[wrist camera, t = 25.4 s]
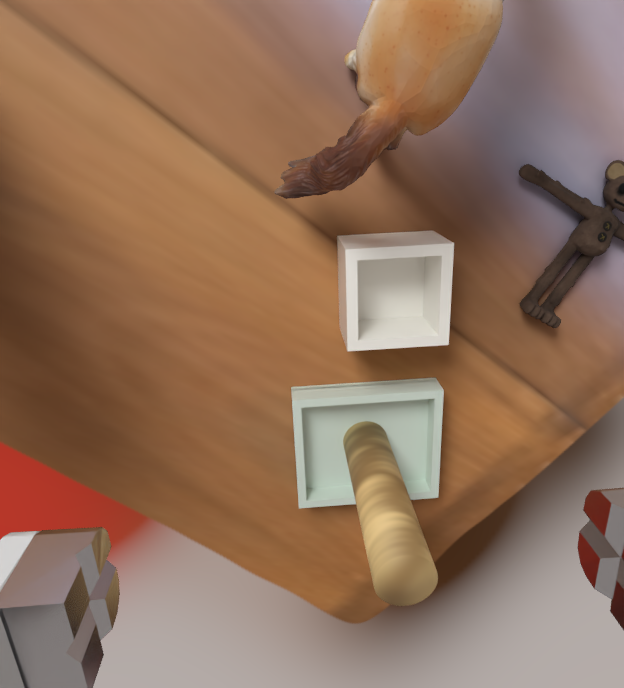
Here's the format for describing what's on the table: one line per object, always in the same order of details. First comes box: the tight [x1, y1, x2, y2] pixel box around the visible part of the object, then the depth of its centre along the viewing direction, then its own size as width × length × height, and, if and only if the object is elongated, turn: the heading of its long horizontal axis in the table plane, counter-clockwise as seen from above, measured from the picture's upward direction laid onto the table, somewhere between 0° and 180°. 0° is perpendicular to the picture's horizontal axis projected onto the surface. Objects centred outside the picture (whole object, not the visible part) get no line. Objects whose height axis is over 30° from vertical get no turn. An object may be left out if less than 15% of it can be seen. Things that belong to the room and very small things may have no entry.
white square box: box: [337, 230, 454, 351], centre depth 45 cm, size 8×8×6 cm
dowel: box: [343, 421, 438, 606], centre depth 45 cm, size 4×4×18 cm
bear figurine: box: [519, 160, 624, 328], centre depth 47 cm, size 18×4×14 cm
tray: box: [291, 378, 444, 508], centre depth 52 cm, size 14×12×3 cm
